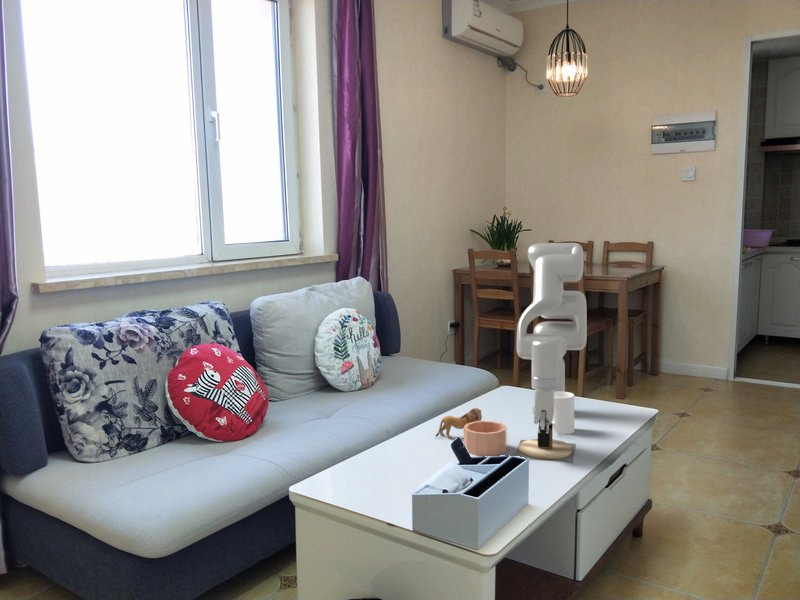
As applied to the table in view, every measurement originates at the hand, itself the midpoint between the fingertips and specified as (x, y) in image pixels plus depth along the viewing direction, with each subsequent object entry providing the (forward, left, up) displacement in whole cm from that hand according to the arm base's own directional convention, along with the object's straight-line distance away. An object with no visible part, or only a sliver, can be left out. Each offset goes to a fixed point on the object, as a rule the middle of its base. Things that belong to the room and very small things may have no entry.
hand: (545, 441), depth 193 cm
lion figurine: (-9, -27, -4) cm, 29 cm away
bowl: (+2, -17, -3) cm, 17 cm away
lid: (0, 0, -3) cm, 3 cm away
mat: (0, 0, -3) cm, 3 cm away
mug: (-19, +2, -4) cm, 19 cm away
